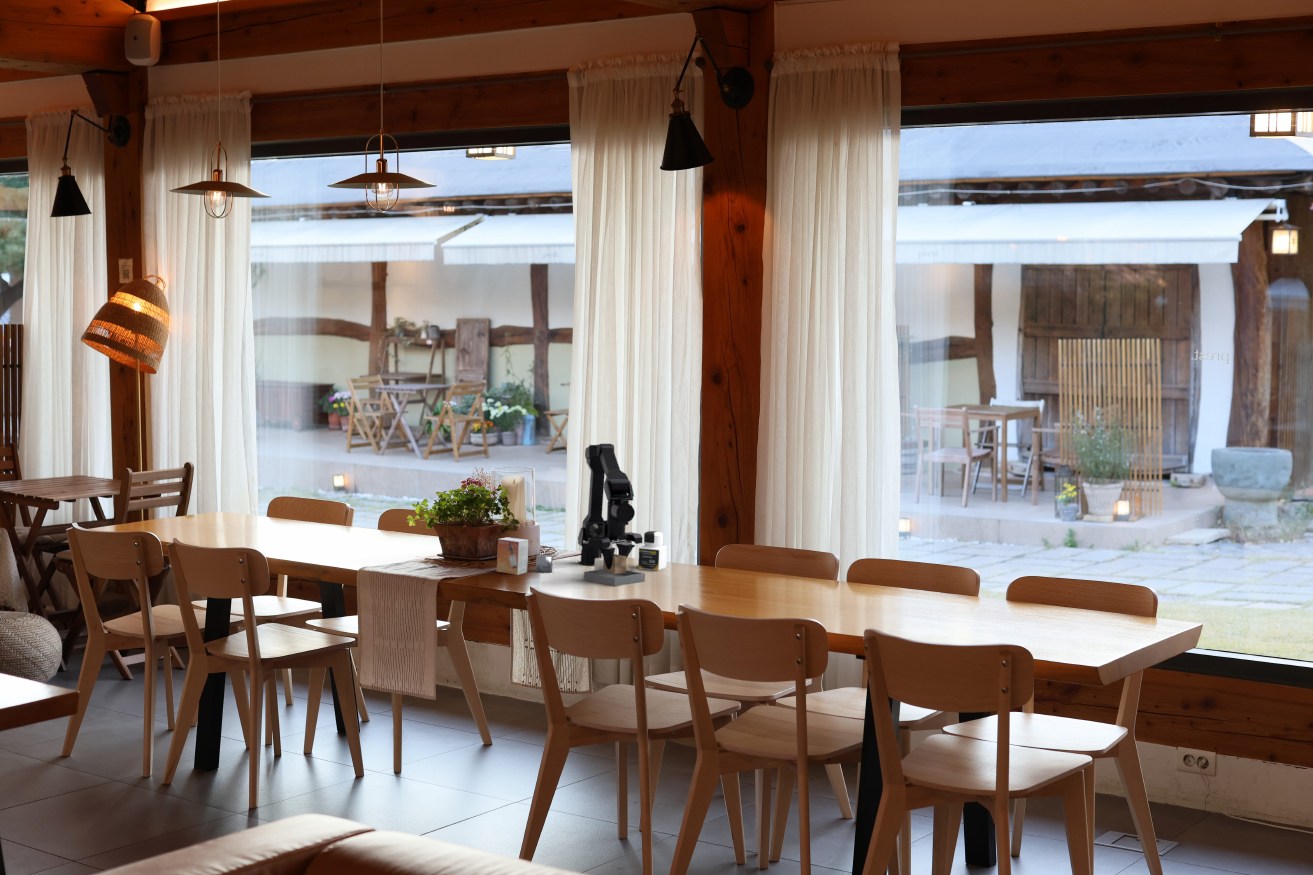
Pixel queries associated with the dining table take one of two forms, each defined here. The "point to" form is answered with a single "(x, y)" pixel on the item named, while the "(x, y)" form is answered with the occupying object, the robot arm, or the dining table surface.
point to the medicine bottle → (652, 552)
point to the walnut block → (616, 565)
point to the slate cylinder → (544, 563)
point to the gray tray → (614, 577)
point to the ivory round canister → (598, 563)
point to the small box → (512, 555)
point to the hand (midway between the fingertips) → (614, 568)
